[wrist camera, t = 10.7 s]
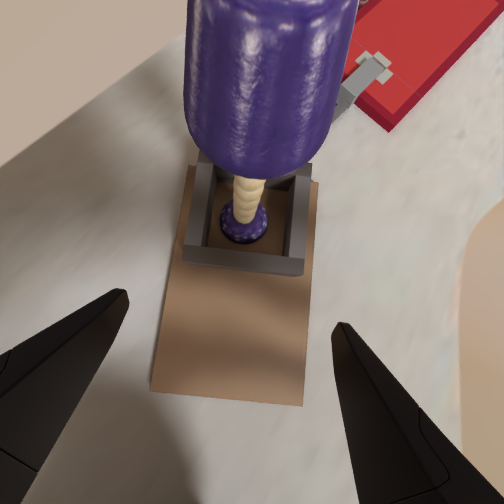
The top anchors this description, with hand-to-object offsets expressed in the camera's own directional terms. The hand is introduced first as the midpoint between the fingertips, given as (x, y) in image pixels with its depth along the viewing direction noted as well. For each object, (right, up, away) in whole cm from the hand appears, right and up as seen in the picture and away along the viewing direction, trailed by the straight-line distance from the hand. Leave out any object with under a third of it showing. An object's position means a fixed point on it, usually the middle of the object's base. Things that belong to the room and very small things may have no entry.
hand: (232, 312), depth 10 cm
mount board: (0, 0, +10) cm, 10 cm away
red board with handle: (+14, +25, +16) cm, 33 cm away
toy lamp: (0, +5, +11) cm, 12 cm away
